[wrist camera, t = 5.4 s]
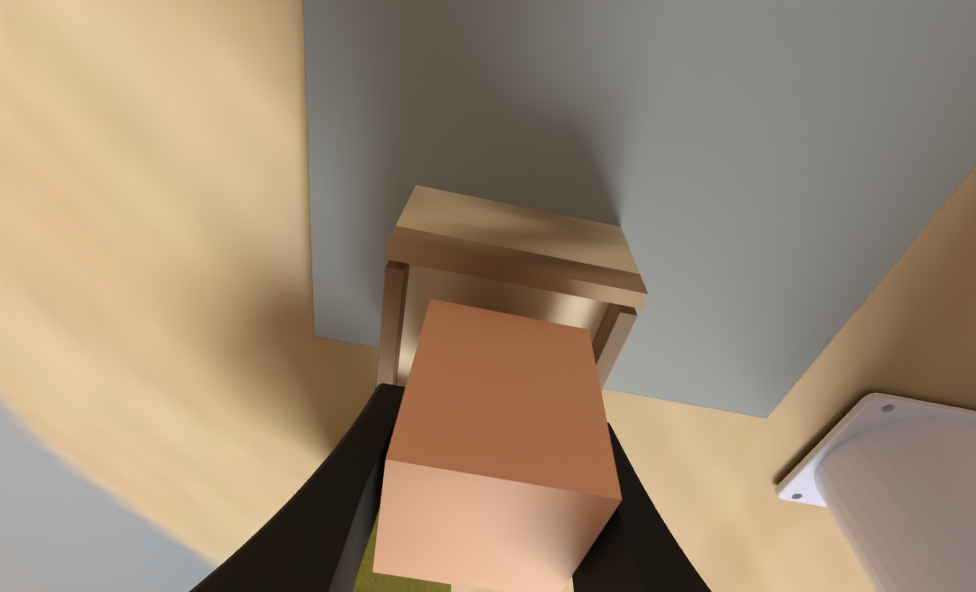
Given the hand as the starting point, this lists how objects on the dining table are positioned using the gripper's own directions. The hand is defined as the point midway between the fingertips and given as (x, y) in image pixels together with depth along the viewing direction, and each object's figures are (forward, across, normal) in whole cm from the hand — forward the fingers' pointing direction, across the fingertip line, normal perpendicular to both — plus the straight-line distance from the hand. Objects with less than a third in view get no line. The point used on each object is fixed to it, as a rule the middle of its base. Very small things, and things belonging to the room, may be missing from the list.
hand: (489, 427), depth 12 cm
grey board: (+7, -3, -5) cm, 9 cm away
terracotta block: (+2, 0, 0) cm, 2 cm away
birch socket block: (+6, 0, 0) cm, 6 cm away
